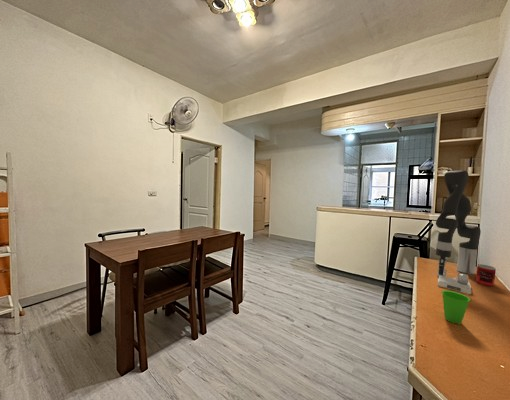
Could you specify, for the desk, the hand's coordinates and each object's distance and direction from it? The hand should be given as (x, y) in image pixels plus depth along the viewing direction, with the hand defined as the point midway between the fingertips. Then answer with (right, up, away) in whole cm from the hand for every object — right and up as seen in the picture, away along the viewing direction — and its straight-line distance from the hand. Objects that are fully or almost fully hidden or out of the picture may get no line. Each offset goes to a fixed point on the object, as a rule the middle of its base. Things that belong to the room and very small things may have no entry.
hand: (441, 273), depth 142 cm
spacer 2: (-2, 0, -16) cm, 16 cm away
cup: (-38, -4, -50) cm, 63 cm away
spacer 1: (0, -3, 0) cm, 3 cm away
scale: (-4, -3, -14) cm, 15 cm away
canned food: (+20, -4, -8) cm, 22 cm away
